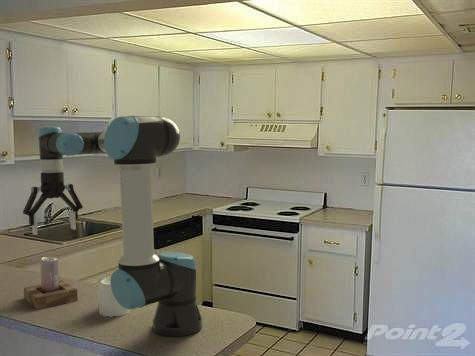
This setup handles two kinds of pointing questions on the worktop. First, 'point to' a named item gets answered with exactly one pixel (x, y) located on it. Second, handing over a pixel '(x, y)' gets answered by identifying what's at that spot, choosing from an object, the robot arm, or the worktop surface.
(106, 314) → the mug
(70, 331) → the worktop surface
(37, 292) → the socket block
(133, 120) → the robot arm
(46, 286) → the beverage can
